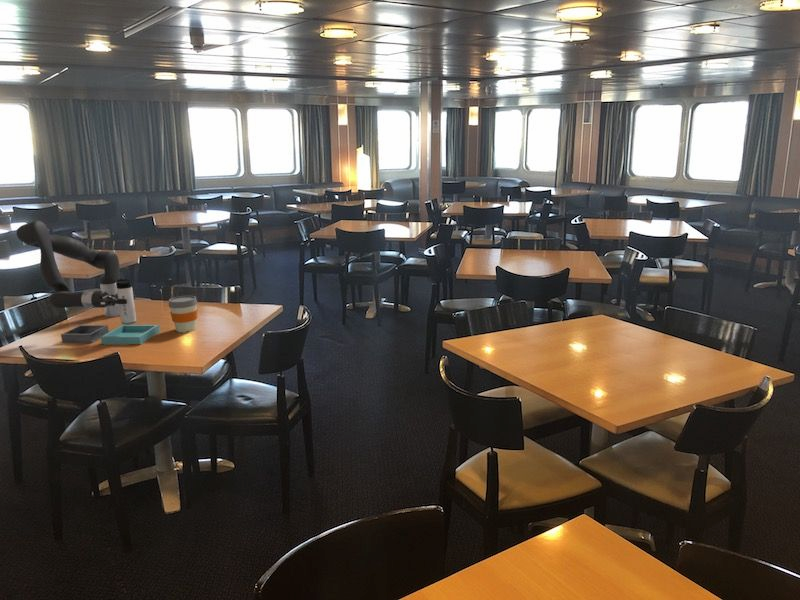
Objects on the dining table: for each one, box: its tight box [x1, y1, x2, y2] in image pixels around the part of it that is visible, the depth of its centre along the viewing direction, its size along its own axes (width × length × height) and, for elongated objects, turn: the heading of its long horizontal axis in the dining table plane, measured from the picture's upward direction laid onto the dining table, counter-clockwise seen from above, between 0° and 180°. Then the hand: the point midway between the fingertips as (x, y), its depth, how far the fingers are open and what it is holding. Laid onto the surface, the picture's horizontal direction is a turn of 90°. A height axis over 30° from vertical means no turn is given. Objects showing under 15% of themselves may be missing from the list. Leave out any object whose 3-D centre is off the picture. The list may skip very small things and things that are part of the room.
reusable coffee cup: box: [168, 295, 198, 333], centre depth 290 cm, size 13×12×15 cm
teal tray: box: [100, 324, 161, 346], centre depth 281 cm, size 18×18×4 cm
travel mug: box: [116, 278, 137, 325], centre depth 277 cm, size 6×7×20 cm
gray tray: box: [60, 324, 110, 344], centre depth 283 cm, size 14×14×4 cm
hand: (130, 299), depth 276 cm, fingers closed on travel mug, 6 cm apart
